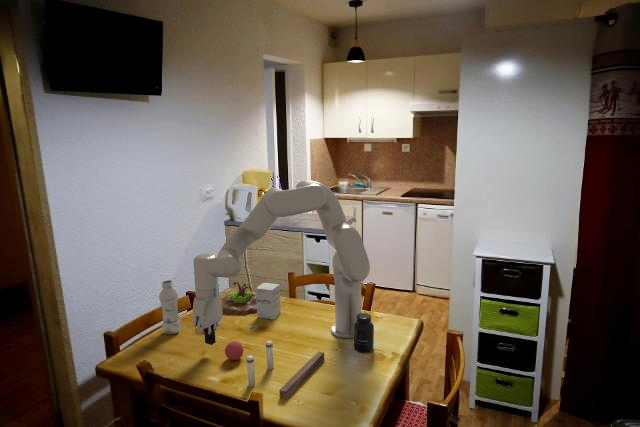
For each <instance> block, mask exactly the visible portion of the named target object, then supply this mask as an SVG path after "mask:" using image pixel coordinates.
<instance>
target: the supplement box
mask: <svg viewBox="0 0 640 427" xmlns="http://www.w3.org/2000/svg"><path fill="white" fill-rule="evenodd" d="M280 288H281V287H280V284H278V283H270V282H262V283H261V284H259V285H258V286H257V287H256V288H255V294H256V299H257V313H256V315H257V316H256V317H257V318H260V319H266V320H267V319H268V320H272V321H273V320H275V319H276V318H277V317H278V316H279V315H280V314H281V289H280Z"/></svg>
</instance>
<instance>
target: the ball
mask: <svg viewBox="0 0 640 427" xmlns="http://www.w3.org/2000/svg"><path fill="white" fill-rule="evenodd" d="M244 350H245V349H244V346H243V344H242V343H241V342H239V341H235V340H233V341H230V342H228V343H227V345H226V346H225V348H224V353H225V357H226V358H227V359H228V360H230V361H238V360H239V359H240V358H242V357H243V355H244Z"/></svg>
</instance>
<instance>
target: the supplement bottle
mask: <svg viewBox="0 0 640 427" xmlns="http://www.w3.org/2000/svg"><path fill="white" fill-rule="evenodd" d="M374 332H375V326H374V323H372V316H371V314H370V313H366V312H361V313H360V314H358V315H357V322H355V324H354V338H353V349H354V350H355V351H356V352H357V353H360V354H368V353H370V352H372V351H373V350H374V347H375V346H374V341H375V334H374Z"/></svg>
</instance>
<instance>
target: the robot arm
mask: <svg viewBox="0 0 640 427" xmlns="http://www.w3.org/2000/svg"><path fill="white" fill-rule="evenodd" d="M294 187H295V188H291V189H281V188H278V187H272V188H269V189H268V190H267V191H266V192H265V193H264V194H263V195H262V196H261V198H260V199H259V200H258V202H257V204H256V205H255V206H254V207H253V209H252V210H251V212H250V213H249V215H247V217H246V218H245V219H244V221H243V222H242V223H241V224H240V225H239V226H238V228H237V229H235V230H234V231H233V233H232V234H231V235H230V236H229V237H228V239H227V240H226V241H225V243H224V244H223V246H222V247H221V248H220V250H219V251H218V253H217V256H216V255H215V254H213V253H201V254H198V255H196V256H195V257H194V258H193V261H192V262H193V277H194V290H195V291H194V292H195V297H194V299H193V305H192V324H193V325H192V326H193V327H196V333H199V334H202V333H203V334H204V343H205V344H207V345H209V346H213V345H214V344H216V332H217V326H218V325H217V324H218V323H219V322H220V321H221V322H222V318H223V313H222V302H221V299H222V297H221V293H220V288H219V286H220V285H219V278H224V279H225V278H228V279H230V278H235V277H237V276H238V275H239V274H240V273H241V272H242V269H243V263H242V261H241V258H242V256H243V255H244V254H245V252H246V251H247V250H248V248H249V247H250V246H252V244H254V243H255V242H257V241H259V240H262V239H263V238H265V237H266V236H267V235H268V233H269V232H270V230H271V229H272V227H273V226H274V225H275V223H276V222H277V221H278V219H279V218H287V217H292V216H296V215H297V216H298V215H301V214H306V213H310V212H314V211H316V213H317V216H318V218H319V221H320V222H321V225H322V228H323V232H324V234H325V238H326V241H327V242H328V244H329V245H330V246H331V247H332V248H334V250H335V252H334V254H333V256H332V270H333V277H334V312H335V313H334V314H335V317H334V318H335V321H334V322H335V323H334V324H332V326H331V333H332V334H333V335H334V336H335V337H337V338H342V339H354V324H355V322H357V315H358V314H360V313H362V282H364V281H365V280H366V279H367V278H368V276H369V274H370V270H371V266H370V260H369V257H368V253H367V251H366V247H365V244H364V242H363V239H362V236H361V234H360V232H359V231H358V230H357V229H356V228H355V227H354V226H352V225H351V224H349V223H348V221H347V219H346V215H345V213H344V211H343V208H342V205H341V202H340V201H339V199H338V197H337V196H336V194H335V193H334V192H333V191H332V190H331V189H330V188H329V187H328V186H326V185H325V184H323V183H322V182H319V181H316V180H310V179H305V180H301V181H299V182H298V183H297V184H296V186H294Z"/></svg>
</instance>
